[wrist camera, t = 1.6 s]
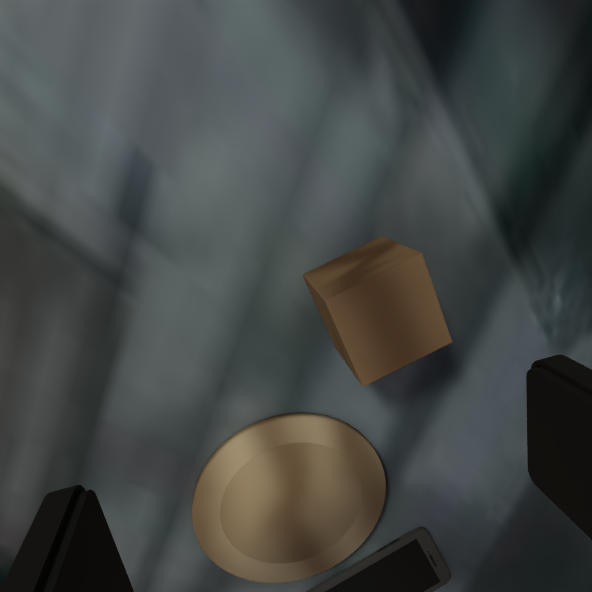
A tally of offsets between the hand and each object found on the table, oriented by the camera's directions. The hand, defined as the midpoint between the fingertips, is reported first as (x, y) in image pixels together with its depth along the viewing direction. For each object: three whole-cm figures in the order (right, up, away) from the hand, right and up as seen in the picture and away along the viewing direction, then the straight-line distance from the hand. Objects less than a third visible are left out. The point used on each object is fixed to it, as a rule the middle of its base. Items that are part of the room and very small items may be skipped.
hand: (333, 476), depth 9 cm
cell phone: (+6, -22, +31) cm, 38 cm away
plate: (-1, -12, +25) cm, 28 cm away
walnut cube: (+4, +4, +22) cm, 23 cm away
